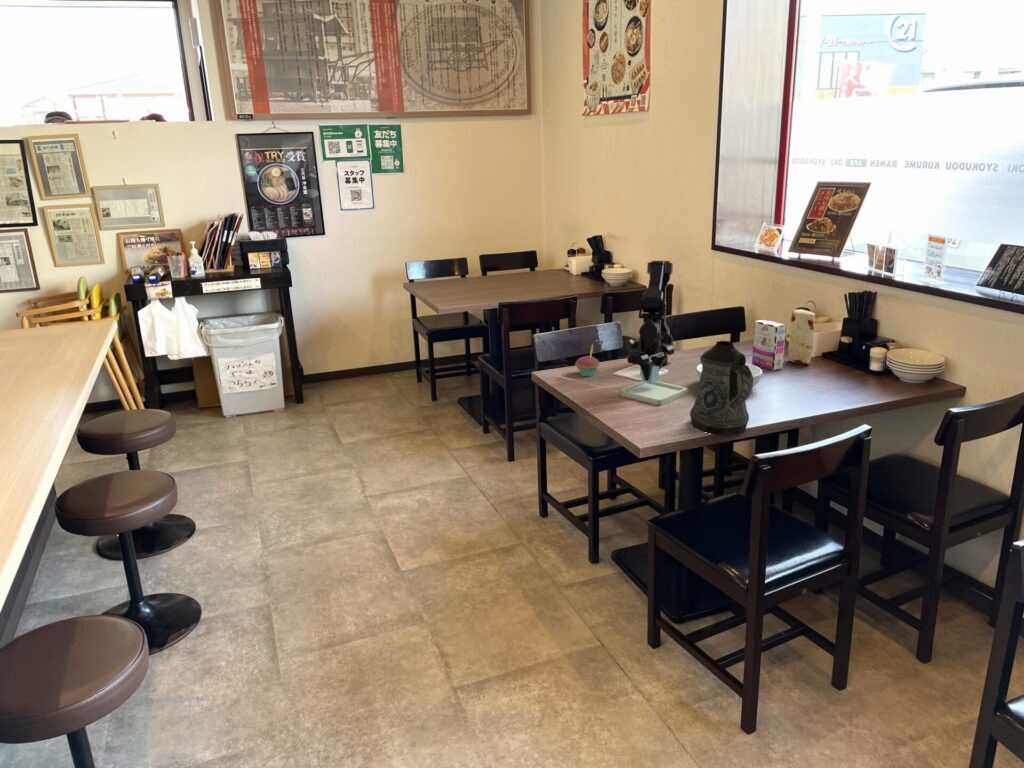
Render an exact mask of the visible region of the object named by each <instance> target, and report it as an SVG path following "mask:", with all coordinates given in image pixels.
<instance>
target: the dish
mask: <svg viewBox="0 0 1024 768" xmlns="http://www.w3.org/2000/svg"><path fill="white" fill-rule="evenodd" d="M669 372H670V370H669V369H664V368H661V369H660V371H659V377H660V376H662V375H665V374H668V373H669ZM612 375H613V376H616V377H621V378H626V379H630V380H634V381H638V382H641V381H642V375H640V365H637V364H633V365H631V366H629V367H626V368H623V369H621V370H618V371H615V372H613V373H612Z"/></svg>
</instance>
